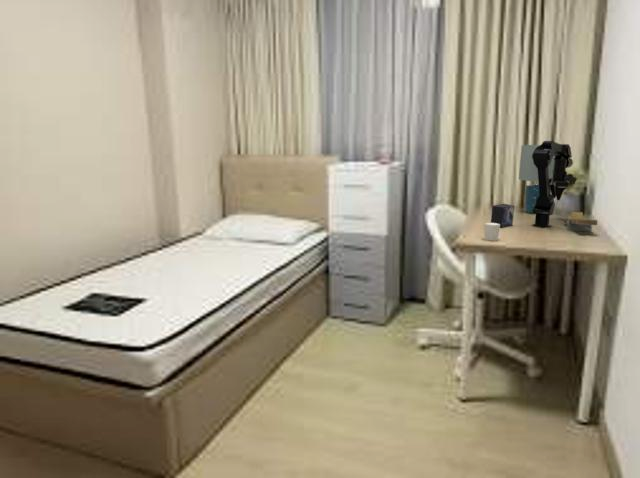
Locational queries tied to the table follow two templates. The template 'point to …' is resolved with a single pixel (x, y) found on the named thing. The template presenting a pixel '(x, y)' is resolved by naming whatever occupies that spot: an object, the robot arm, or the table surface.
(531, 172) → the lamp
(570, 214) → the block
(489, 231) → the white cup
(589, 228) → the pivot stand
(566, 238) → the table surface
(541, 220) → the robot arm
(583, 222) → the brown long shallow tray
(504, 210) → the small box
